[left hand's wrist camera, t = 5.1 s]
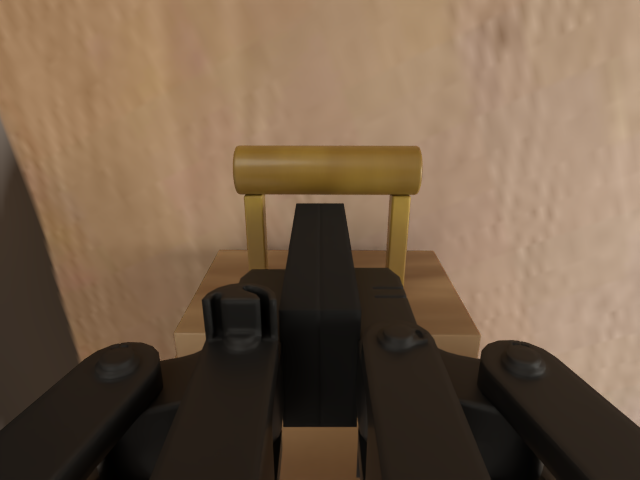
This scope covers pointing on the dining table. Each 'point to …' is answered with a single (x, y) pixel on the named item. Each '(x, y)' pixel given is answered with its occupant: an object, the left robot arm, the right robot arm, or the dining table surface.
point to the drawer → (411, 266)
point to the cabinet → (319, 453)
